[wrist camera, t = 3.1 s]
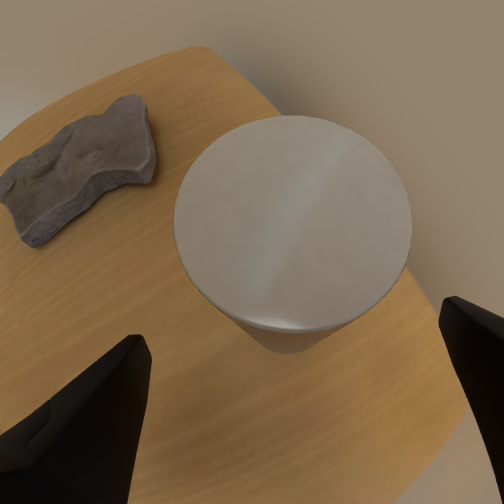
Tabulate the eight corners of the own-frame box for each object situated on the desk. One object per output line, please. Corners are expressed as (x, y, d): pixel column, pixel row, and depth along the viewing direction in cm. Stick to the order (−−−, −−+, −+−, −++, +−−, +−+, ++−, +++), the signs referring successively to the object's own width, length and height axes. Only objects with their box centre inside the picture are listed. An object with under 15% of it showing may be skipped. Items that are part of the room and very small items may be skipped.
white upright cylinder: (342, 327, 17) (455, 248, 5) (271, 368, 17) (241, 383, 5) (302, 260, 19) (324, 90, 7) (233, 298, 19) (142, 173, 6)
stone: (147, 101, 25) (132, 68, 21) (176, 177, 22) (157, 143, 18) (19, 177, 24) (-5, 156, 20) (22, 263, 21) (-11, 246, 17)
